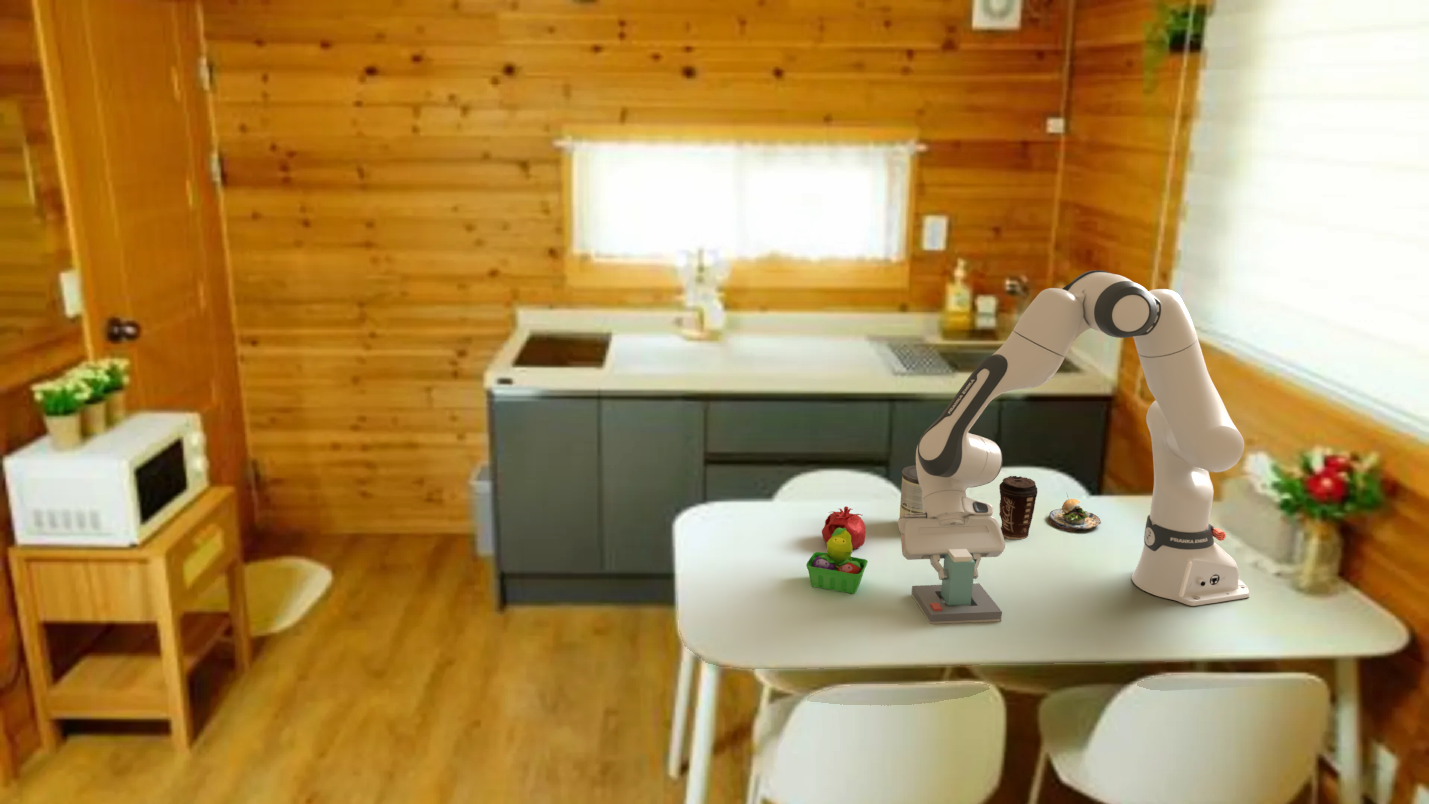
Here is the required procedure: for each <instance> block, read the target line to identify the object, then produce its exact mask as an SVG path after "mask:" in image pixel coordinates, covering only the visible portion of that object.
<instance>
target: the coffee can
mask: <svg viewBox="0 0 1429 804" xmlns="http://www.w3.org/2000/svg"><path fill="white" fill-rule="evenodd" d="M901 476H902V478H901V488H900V489H901V490H900V492H901V493H900V503H899V504H900V505H899V518H900V517H901V516H903V515H904V514H906V513H911V514H915V513H924V509H923V503H922V488H921V486H920V485H919V481H918V475H917V469H916V464H915V465H914V464H913V465H909V466H906V467H904V468H903V469H902V470H901Z"/></svg>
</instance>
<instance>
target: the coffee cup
mask: <svg viewBox="0 0 1429 804" xmlns="http://www.w3.org/2000/svg"><path fill="white" fill-rule="evenodd" d="M998 488H999V495H1000V500H999V517H1000V520H1001V525H1000V528H1001V531H1002V534H1003V537H1004V538H1007V539H1010V540H1022V539H1025V538H1027V537H1029V531H1030V528H1031V524H1032V520H1033V517H1034V512H1035V505H1036V500H1037V497H1038V496H1037V495H1038V487H1037V485H1036V481H1035V480H1033V479H1031V478H1028V477H1026V476H1017V475H1009V476H1007V477H1004V478H1003V479H1002V482H1001V483H1000V484H999V487H998Z"/></svg>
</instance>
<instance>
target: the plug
mask: <svg viewBox="0 0 1429 804" xmlns="http://www.w3.org/2000/svg"><path fill="white" fill-rule="evenodd" d="M942 567H943V568H944V569H948V574H949V578H948V579H947V580H941V585H942V587H941V596H942V597H943V599H944V600H945V601H946V603H947V604H948V606H949V605H971V597H972V588H973V584H974V579H973V578H974V568H975V562H974V560H973V559H972V555H971V554H970V553H969V552H968V551H967V549H948V554H945V555H944V559H943V565H942Z"/></svg>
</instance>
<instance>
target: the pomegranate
mask: <svg viewBox="0 0 1429 804" xmlns="http://www.w3.org/2000/svg"><path fill="white" fill-rule="evenodd" d="M853 509H854V508H849V507H848V506H844V507H843V509H842V508H838V510H839V511H832V512H831V513H830V514H829V515H827V516H826V517H827V518H826V519H825V521H824V527H823V528H822V529H821V534H822V539H823V540H824V542H825V543H826V544H827V542H828V540H829V539H830V538H831V537H832V534H833V533H834V531H835V530H836V529H837V528H846V531H847V532H848V533H849V534H850V535H851V543H852V548H853V549H852V551H853V550H855V549H859V548H861V547H862V546H863V545H864V544H865V541H866V524H865V522H864V520H863V519H862V518H861V517H860V516H862V514H861V513H850V512H851V511H852V510H853Z"/></svg>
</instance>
